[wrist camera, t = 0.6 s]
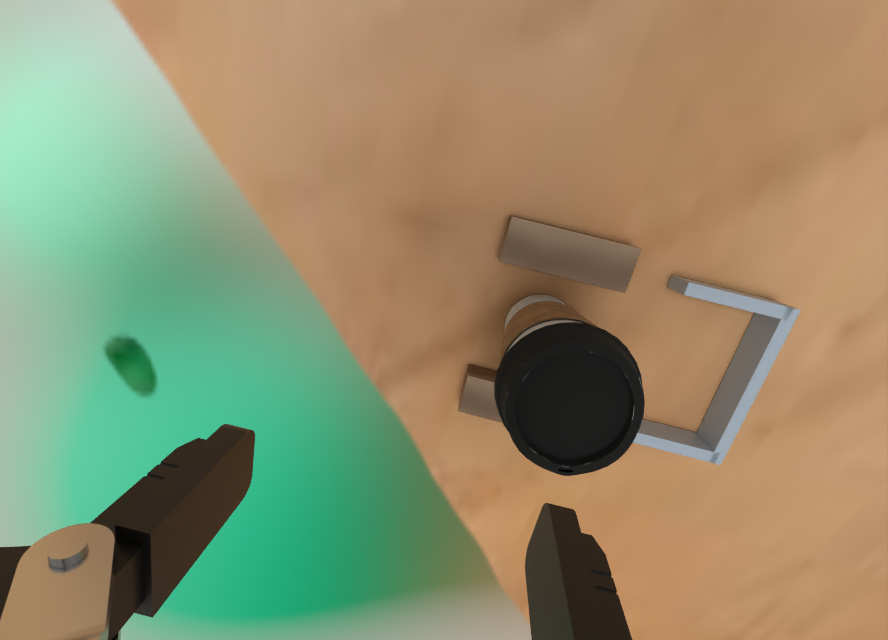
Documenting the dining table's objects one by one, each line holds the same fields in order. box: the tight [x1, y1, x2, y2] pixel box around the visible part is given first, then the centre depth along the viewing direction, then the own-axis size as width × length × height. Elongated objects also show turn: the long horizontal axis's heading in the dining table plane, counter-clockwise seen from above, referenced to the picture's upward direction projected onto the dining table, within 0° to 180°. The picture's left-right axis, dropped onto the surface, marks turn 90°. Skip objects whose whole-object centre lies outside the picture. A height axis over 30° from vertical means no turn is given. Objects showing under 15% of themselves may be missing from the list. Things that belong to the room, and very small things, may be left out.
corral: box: [633, 275, 801, 465], centre depth 35 cm, size 14×8×3 cm, turn 167°
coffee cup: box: [494, 294, 644, 476], centre depth 29 cm, size 8×8×15 cm
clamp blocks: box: [458, 215, 642, 423], centre depth 35 cm, size 17×10×2 cm, turn 167°
